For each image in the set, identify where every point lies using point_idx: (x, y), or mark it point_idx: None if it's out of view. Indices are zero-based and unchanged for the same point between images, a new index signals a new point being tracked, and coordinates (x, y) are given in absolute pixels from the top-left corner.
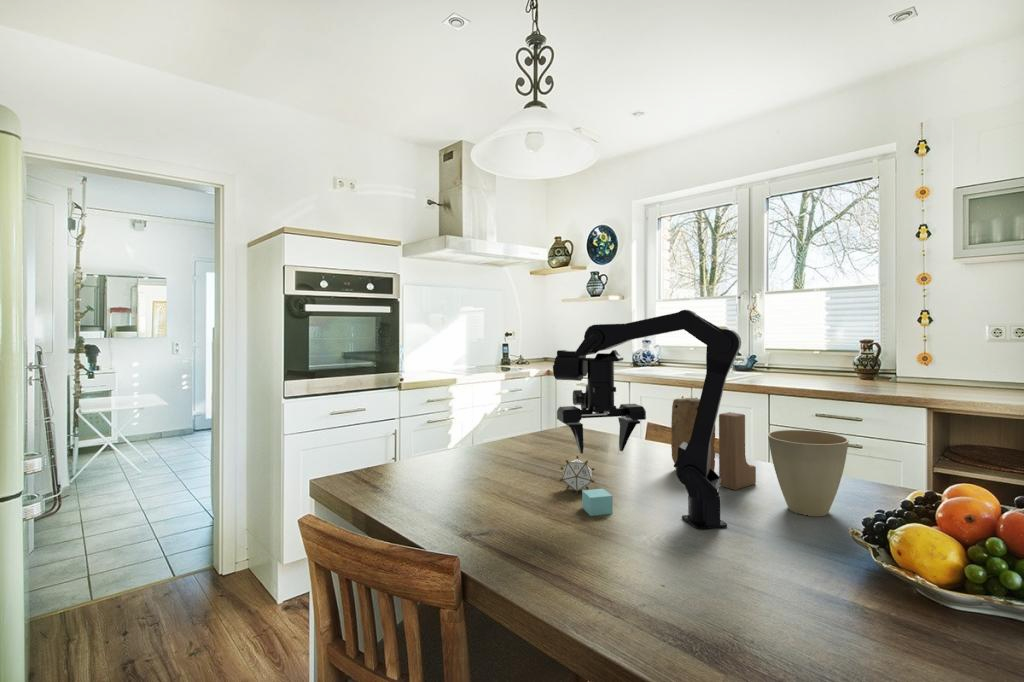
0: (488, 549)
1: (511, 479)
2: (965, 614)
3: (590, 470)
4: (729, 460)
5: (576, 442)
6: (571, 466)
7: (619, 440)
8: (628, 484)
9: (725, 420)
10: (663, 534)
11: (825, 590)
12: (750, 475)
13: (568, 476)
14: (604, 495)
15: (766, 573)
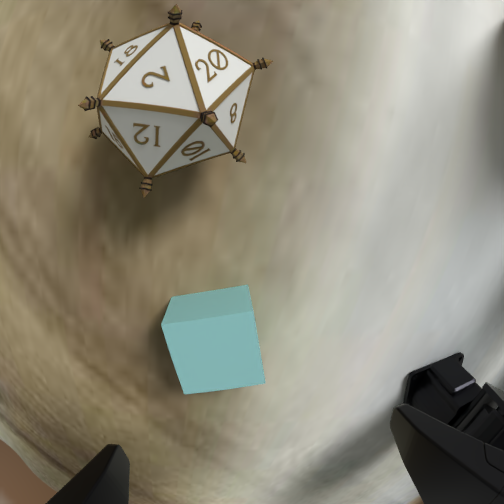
0: (27, 443)
1: (9, 19)
2: None
3: (240, 94)
4: None
5: (69, 485)
6: (119, 127)
7: (427, 446)
8: (391, 72)
9: None
10: (329, 441)
11: (403, 499)
12: None
13: (117, 145)
14: (238, 379)
15: (382, 493)
